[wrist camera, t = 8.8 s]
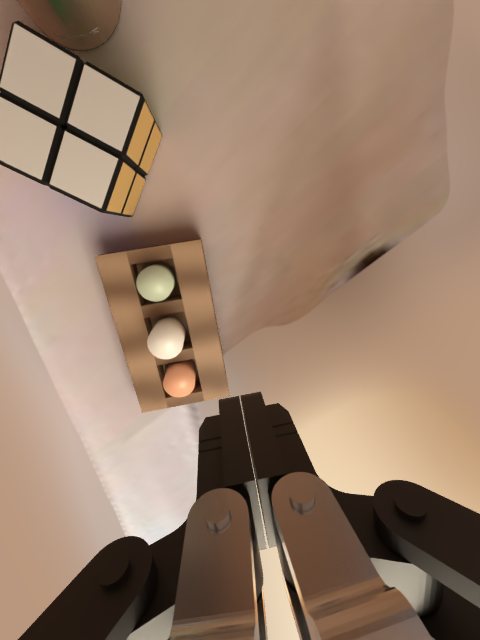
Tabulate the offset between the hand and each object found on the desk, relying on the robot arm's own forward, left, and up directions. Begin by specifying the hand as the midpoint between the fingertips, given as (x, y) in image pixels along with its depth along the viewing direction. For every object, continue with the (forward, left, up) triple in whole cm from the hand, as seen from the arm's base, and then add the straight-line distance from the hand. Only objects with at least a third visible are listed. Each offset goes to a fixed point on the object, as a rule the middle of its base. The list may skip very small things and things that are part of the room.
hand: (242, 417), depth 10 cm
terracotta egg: (+11, -7, -28) cm, 31 cm away
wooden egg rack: (+5, -7, -29) cm, 30 cm away
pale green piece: (-1, -7, -28) cm, 29 cm away
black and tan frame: (-16, -10, -29) cm, 35 cm away
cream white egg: (+5, -7, -26) cm, 28 cm away
